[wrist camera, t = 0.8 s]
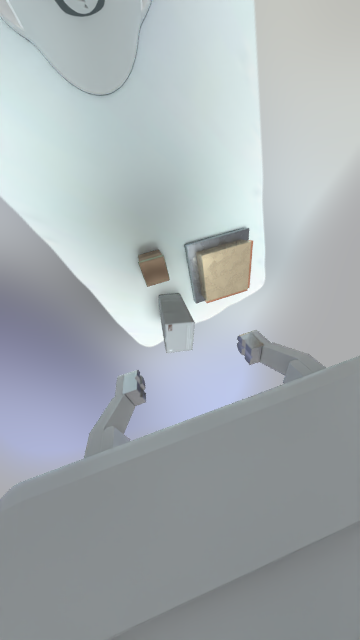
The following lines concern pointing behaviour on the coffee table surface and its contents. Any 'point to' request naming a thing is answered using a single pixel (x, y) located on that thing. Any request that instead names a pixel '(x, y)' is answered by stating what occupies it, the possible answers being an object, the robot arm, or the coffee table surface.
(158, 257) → the walnut column
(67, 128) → the coffee table surface
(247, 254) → the stand
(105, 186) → the coffee table surface
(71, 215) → the coffee table surface
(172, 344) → the skincare box
